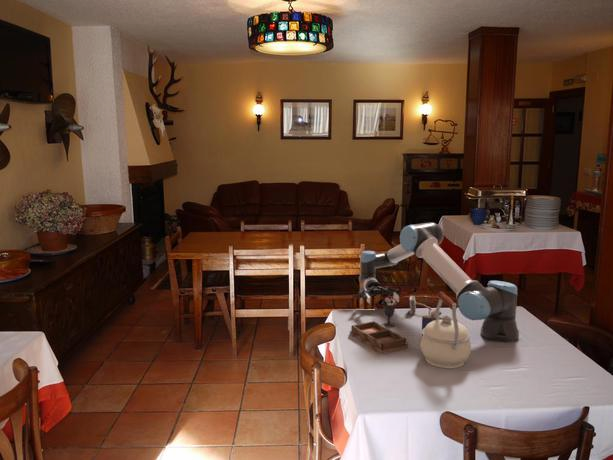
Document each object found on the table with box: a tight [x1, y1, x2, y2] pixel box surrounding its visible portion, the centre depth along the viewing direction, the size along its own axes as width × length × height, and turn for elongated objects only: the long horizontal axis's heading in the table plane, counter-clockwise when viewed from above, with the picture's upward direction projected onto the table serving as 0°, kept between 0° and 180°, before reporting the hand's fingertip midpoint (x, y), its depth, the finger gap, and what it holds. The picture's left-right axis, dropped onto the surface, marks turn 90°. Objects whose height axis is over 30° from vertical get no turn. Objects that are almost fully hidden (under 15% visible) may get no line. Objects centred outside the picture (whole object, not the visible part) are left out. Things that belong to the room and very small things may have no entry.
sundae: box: [381, 292, 398, 328], centre depth 233 cm, size 7×7×15 cm
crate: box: [349, 320, 409, 355], centre depth 216 cm, size 23×13×4 cm, turn 27°
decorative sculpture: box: [408, 295, 443, 316], centre depth 246 cm, size 16×10×7 cm, turn 52°
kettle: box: [419, 291, 472, 369], centre depth 196 cm, size 25×18×25 cm
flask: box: [421, 312, 443, 337], centre depth 219 cm, size 9×3×11 cm, turn 87°
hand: (383, 299), depth 241 cm, fingers open, 13 cm apart
